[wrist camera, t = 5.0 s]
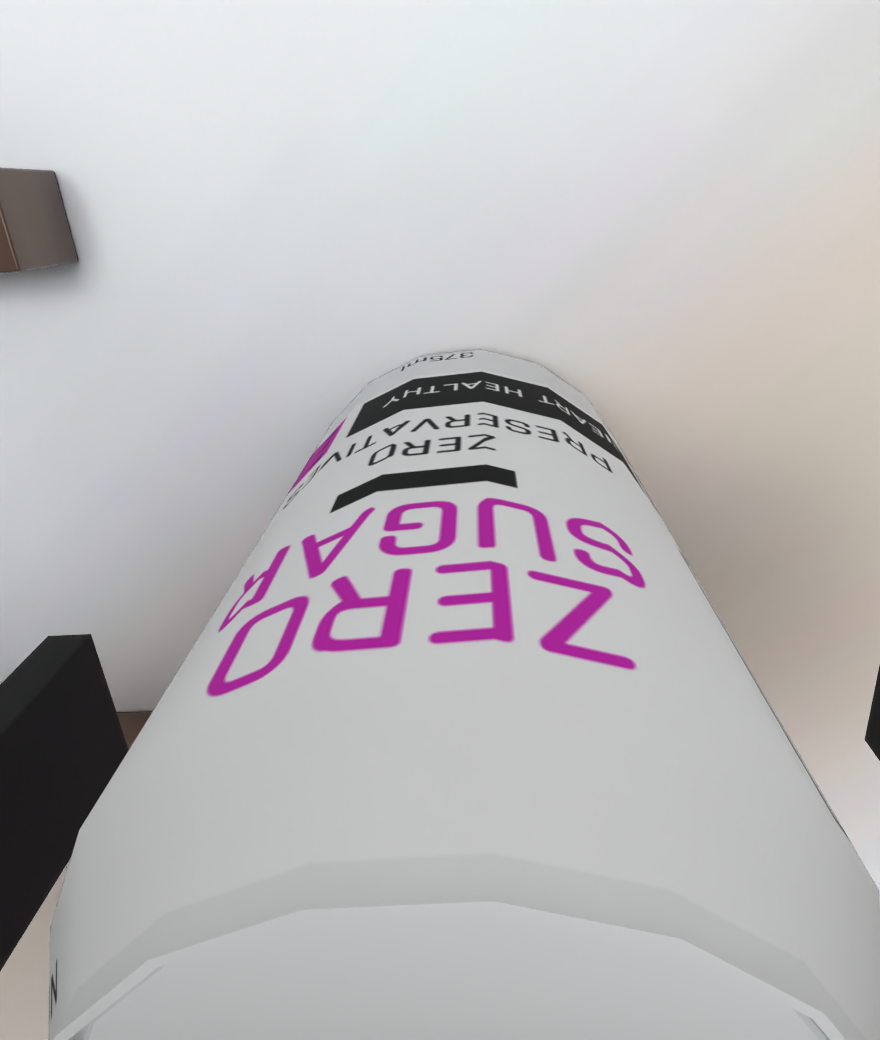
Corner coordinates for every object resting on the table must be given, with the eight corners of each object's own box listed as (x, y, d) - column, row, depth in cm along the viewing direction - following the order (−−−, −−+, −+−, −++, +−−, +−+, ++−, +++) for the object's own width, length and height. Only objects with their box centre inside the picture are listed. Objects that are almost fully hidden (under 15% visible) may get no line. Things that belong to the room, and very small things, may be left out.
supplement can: (439, 671, 22) (384, 1456, 8) (256, 463, 19) (-258, 1101, 6) (677, 529, 20) (1140, 1289, 6) (505, 274, 17) (629, 585, 4)
